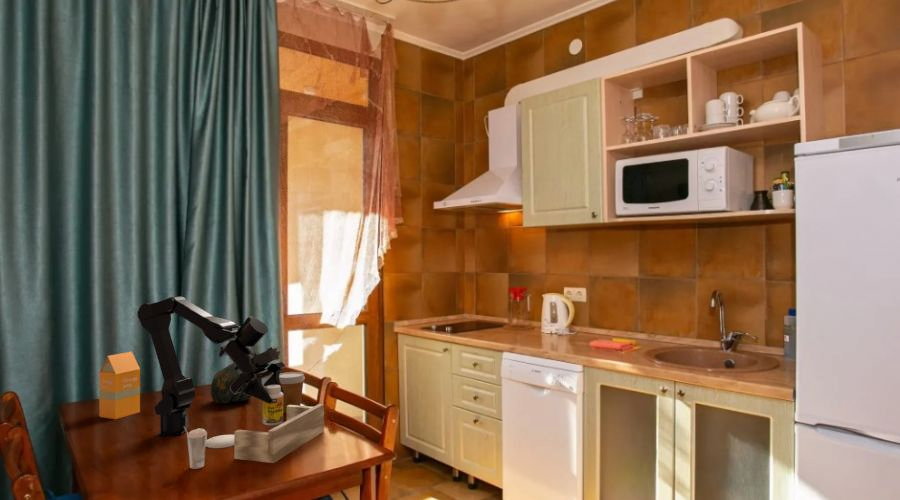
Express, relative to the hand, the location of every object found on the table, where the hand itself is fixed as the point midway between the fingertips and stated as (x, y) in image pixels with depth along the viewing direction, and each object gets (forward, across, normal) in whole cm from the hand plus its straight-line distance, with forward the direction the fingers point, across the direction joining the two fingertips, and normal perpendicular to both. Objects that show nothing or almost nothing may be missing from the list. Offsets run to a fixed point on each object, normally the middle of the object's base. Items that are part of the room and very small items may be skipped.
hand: (277, 399), depth 153 cm
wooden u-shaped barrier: (+10, 0, +7) cm, 12 cm away
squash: (-19, +34, +38) cm, 54 cm away
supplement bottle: (+4, 0, +6) cm, 7 cm away
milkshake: (+2, -20, +16) cm, 26 cm away
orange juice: (-37, +11, +56) cm, 68 cm away
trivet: (-2, -3, +19) cm, 20 cm away
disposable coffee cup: (-1, +29, +19) cm, 35 cm away
